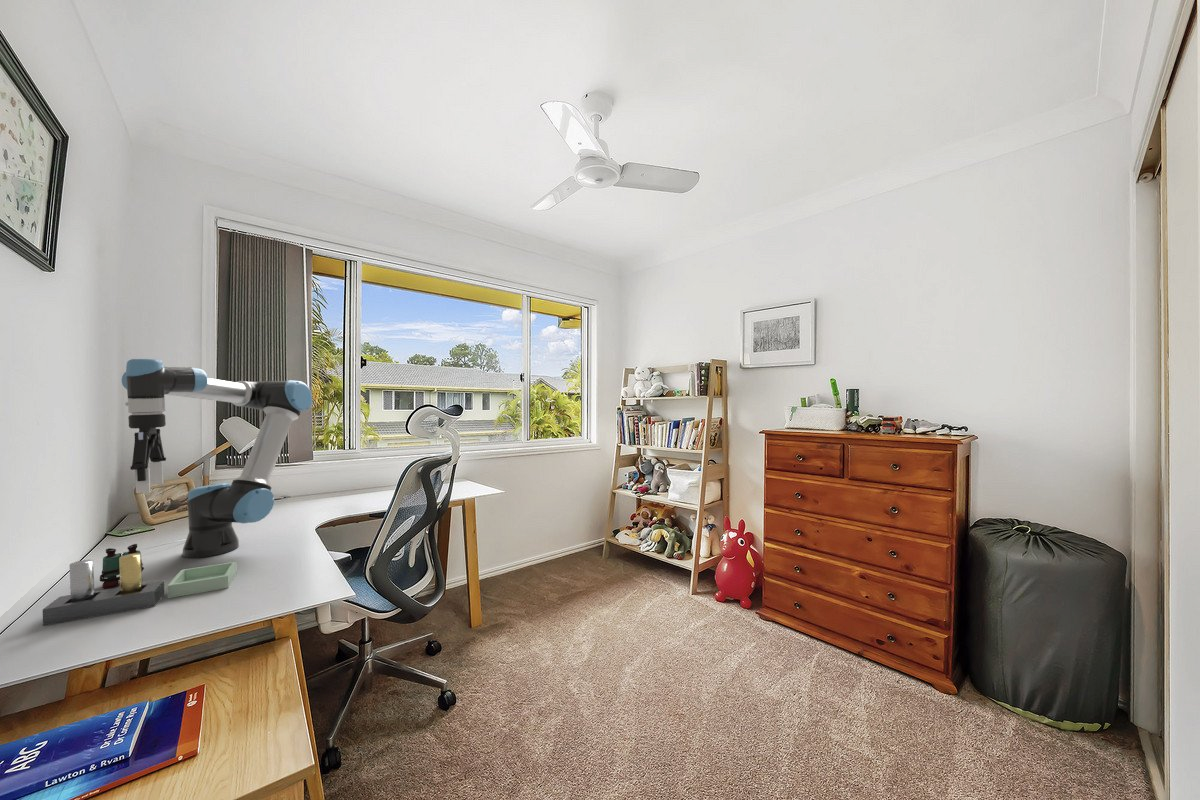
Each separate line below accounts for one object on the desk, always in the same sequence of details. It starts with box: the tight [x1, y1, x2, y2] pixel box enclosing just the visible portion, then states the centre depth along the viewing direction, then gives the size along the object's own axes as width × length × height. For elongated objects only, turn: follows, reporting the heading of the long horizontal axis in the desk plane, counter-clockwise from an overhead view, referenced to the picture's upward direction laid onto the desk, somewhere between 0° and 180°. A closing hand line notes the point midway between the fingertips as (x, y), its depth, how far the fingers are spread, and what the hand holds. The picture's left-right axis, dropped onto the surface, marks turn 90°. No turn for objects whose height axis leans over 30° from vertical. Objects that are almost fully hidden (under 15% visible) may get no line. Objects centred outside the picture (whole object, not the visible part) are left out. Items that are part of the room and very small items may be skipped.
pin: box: [69, 559, 95, 603], centre depth 118 cm, size 4×4×13 cm
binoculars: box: [99, 543, 145, 590], centre depth 136 cm, size 9×11×10 cm
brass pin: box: [119, 553, 143, 595], centre depth 123 cm, size 4×4×13 cm
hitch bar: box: [42, 579, 166, 627], centre depth 120 cm, size 8×20×4 cm, turn 119°
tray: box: [166, 561, 238, 599], centre depth 135 cm, size 13×13×3 cm
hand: (150, 488), depth 133 cm, fingers open, 13 cm apart
